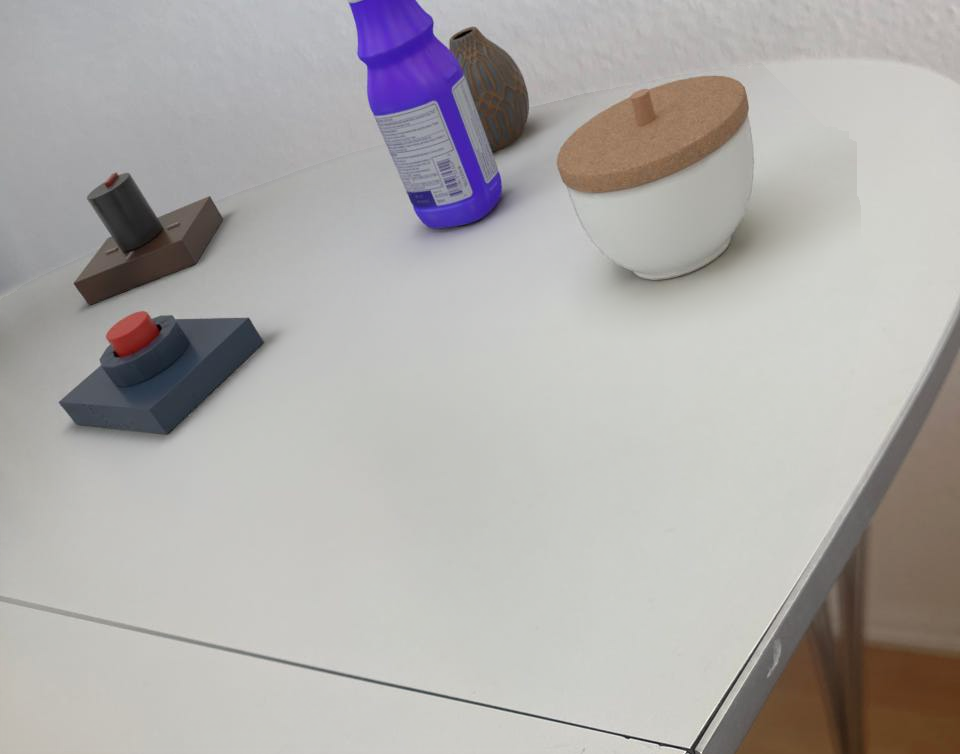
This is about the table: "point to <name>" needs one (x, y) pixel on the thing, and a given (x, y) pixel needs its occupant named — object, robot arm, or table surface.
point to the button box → (162, 375)
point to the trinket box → (663, 175)
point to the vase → (492, 86)
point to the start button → (132, 333)
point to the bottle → (425, 114)
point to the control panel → (151, 253)
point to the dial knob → (125, 212)
